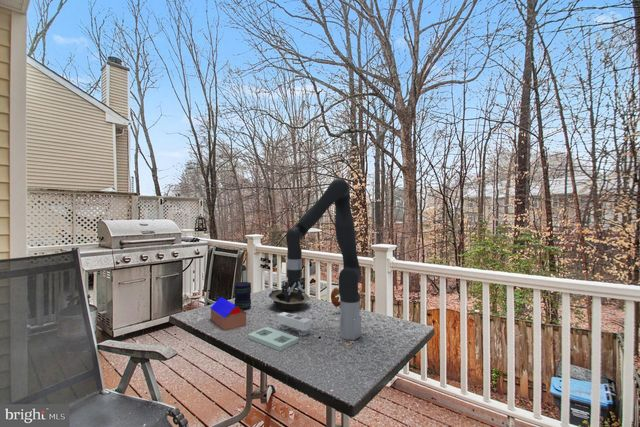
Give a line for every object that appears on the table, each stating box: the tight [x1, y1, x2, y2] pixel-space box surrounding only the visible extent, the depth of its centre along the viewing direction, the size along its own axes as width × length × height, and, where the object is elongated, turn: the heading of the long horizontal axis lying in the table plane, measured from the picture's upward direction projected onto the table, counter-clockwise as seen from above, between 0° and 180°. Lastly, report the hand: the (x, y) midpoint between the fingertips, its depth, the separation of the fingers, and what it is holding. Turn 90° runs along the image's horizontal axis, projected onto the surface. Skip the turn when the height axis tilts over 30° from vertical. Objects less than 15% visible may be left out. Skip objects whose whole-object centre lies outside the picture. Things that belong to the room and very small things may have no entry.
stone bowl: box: [268, 288, 310, 311], centre depth 194 cm, size 25×25×9 cm
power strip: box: [276, 311, 312, 337], centre depth 156 cm, size 18×5×7 cm, turn 52°
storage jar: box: [233, 281, 252, 312], centre depth 191 cm, size 10×10×15 cm
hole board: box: [247, 326, 300, 352], centre depth 145 cm, size 21×12×2 cm, turn 52°
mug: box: [330, 287, 340, 308], centre depth 182 cm, size 15×8×15 cm, turn 84°
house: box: [210, 296, 247, 331], centre depth 167 cm, size 12×20×12 cm, turn 39°
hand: (293, 300), depth 156 cm, fingers open, 8 cm apart
